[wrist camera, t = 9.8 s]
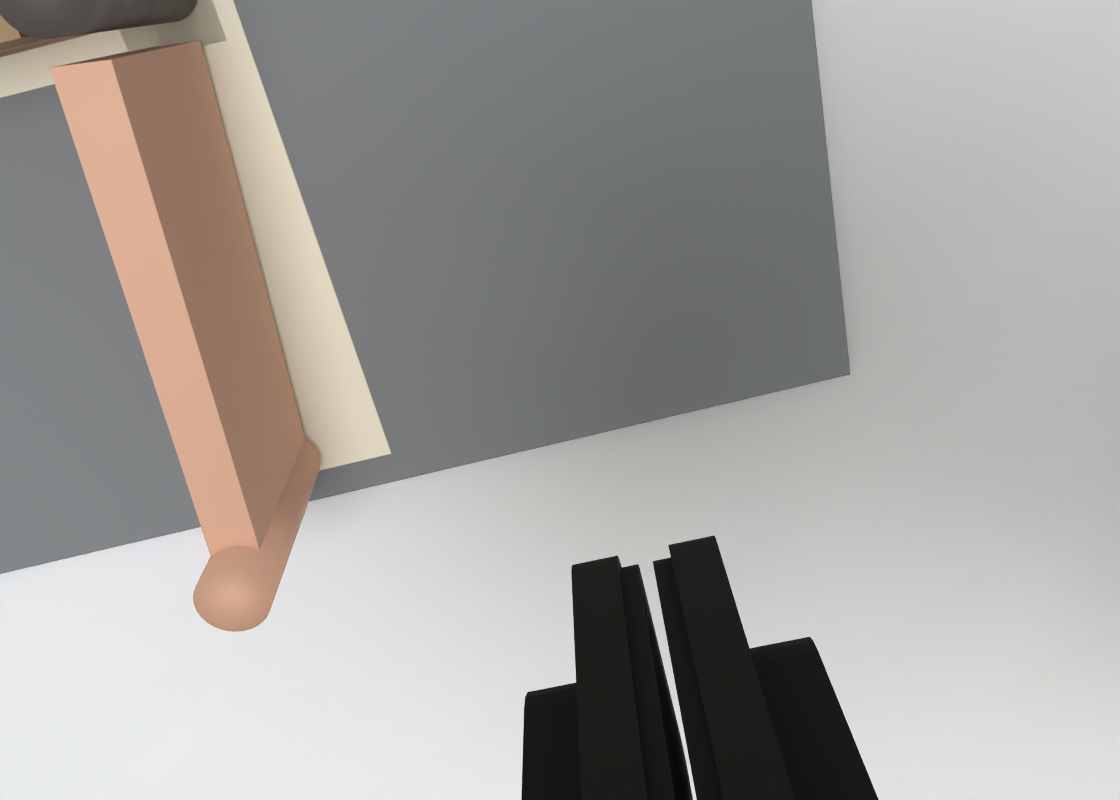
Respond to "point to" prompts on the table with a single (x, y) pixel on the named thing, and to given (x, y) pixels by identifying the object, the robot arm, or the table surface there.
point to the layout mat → (433, 240)
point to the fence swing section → (197, 310)
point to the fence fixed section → (78, 19)
